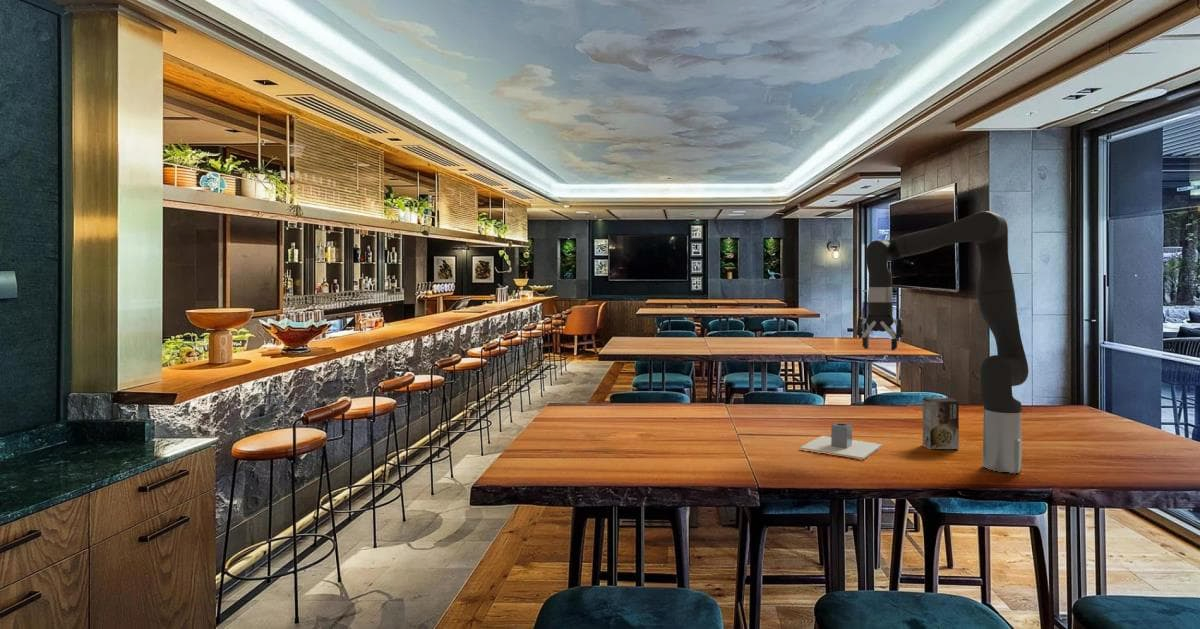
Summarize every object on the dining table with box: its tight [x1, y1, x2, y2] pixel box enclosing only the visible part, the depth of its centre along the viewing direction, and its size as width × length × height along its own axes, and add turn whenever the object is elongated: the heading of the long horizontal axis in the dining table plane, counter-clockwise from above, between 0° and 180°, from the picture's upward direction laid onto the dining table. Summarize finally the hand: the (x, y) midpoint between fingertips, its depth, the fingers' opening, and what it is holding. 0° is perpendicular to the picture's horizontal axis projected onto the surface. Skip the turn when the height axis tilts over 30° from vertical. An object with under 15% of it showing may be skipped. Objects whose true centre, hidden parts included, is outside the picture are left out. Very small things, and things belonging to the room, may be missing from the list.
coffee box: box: [922, 397, 960, 450], centre depth 207 cm, size 9×6×16 cm
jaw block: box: [830, 422, 853, 449], centre depth 207 cm, size 5×5×7 cm
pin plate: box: [799, 435, 883, 460], centre depth 207 cm, size 20×20×6 cm
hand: (879, 349), depth 211 cm, fingers open, 8 cm apart
